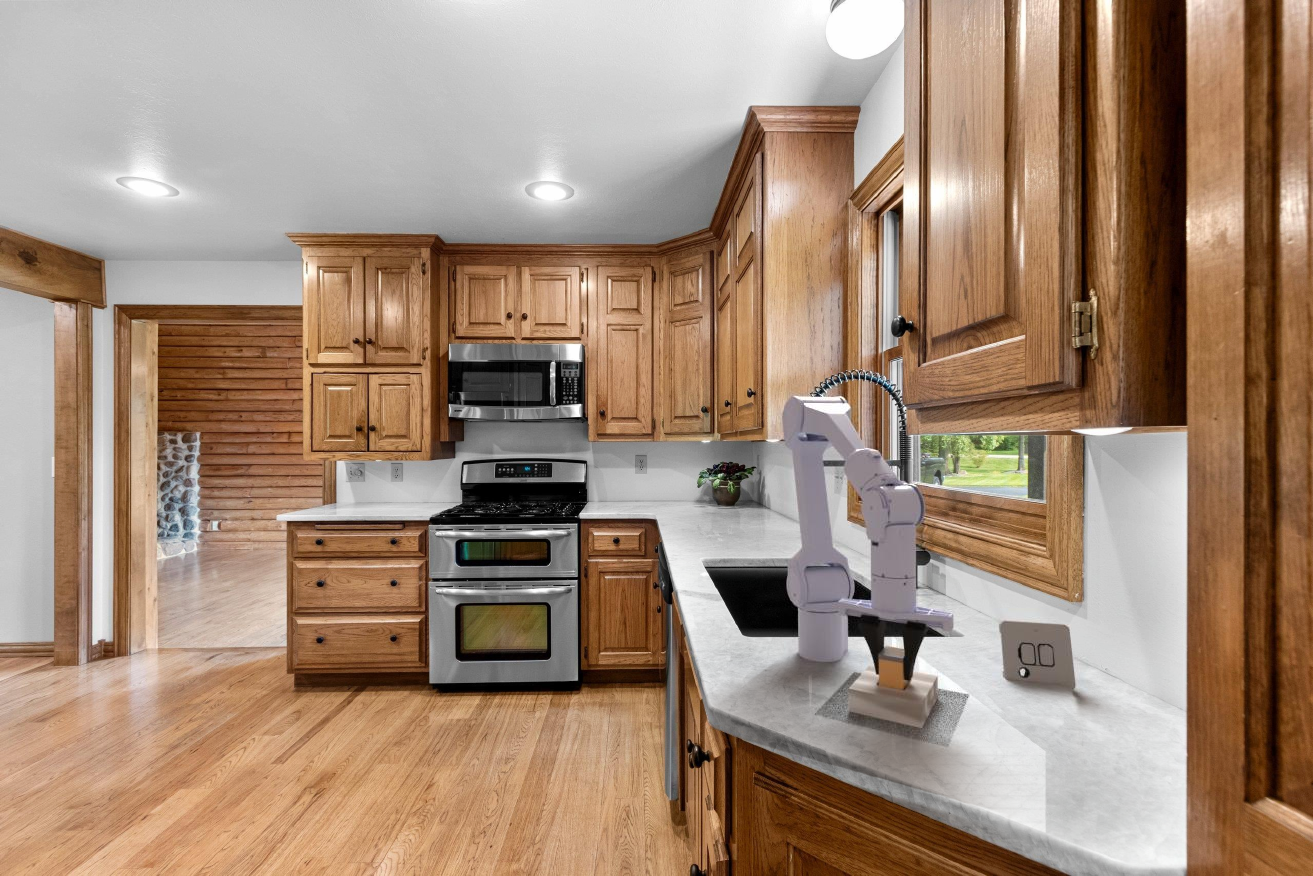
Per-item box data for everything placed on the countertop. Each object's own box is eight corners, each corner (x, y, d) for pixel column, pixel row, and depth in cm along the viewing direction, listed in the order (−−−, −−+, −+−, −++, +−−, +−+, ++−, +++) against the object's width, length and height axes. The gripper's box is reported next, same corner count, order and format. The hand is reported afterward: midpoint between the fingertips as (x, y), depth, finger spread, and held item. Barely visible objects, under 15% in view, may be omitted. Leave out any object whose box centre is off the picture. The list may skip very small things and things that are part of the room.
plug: (886, 696, 87) (885, 645, 87) (909, 701, 85) (909, 649, 85) (878, 706, 84) (878, 654, 84) (903, 712, 82) (902, 658, 82)
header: (854, 678, 96) (854, 652, 96) (969, 701, 88) (969, 673, 88) (813, 722, 81) (813, 691, 81) (948, 756, 73) (947, 721, 73)
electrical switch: (1004, 686, 93) (1002, 622, 94) (996, 677, 98) (994, 616, 99) (1077, 693, 90) (1074, 627, 91) (1064, 683, 95) (1062, 621, 96)
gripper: (830, 573, 85) (831, 673, 85) (946, 586, 77) (947, 697, 77) (846, 565, 91) (847, 658, 91) (955, 576, 83) (956, 679, 83)
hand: (894, 675), depth 84 cm, fingers closed on plug, 3 cm apart
